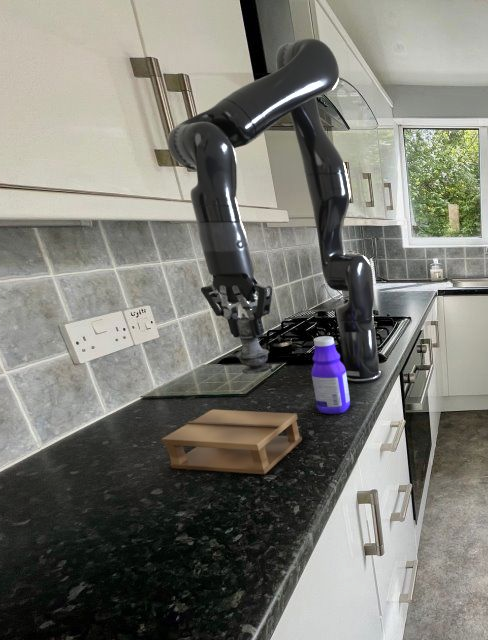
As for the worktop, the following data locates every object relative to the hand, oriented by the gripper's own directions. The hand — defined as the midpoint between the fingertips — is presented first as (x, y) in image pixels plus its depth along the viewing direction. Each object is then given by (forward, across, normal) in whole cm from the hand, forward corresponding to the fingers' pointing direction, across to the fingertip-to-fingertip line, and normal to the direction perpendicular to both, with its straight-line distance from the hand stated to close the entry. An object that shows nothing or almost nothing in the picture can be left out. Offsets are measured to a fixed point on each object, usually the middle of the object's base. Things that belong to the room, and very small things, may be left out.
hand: (248, 336), depth 83 cm
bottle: (+20, -12, -7) cm, 24 cm away
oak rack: (+19, -3, +13) cm, 24 cm away
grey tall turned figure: (+7, 0, 0) cm, 7 cm away
